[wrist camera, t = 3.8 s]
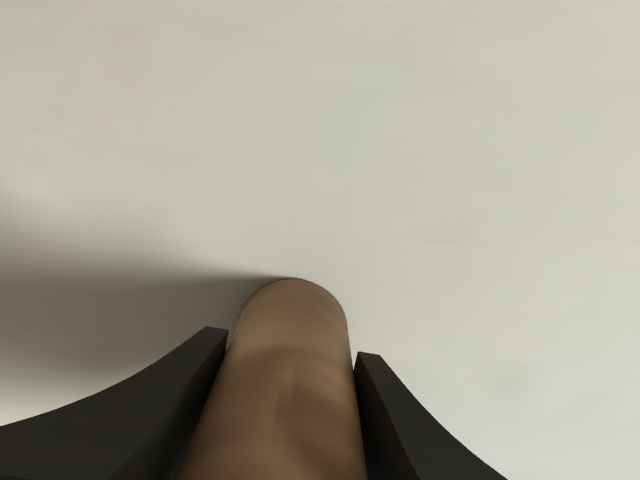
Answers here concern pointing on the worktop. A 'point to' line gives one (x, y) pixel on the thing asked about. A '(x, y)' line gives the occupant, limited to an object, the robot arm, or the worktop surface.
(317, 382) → the dowel
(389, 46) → the worktop surface
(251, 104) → the worktop surface
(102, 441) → the robot arm
